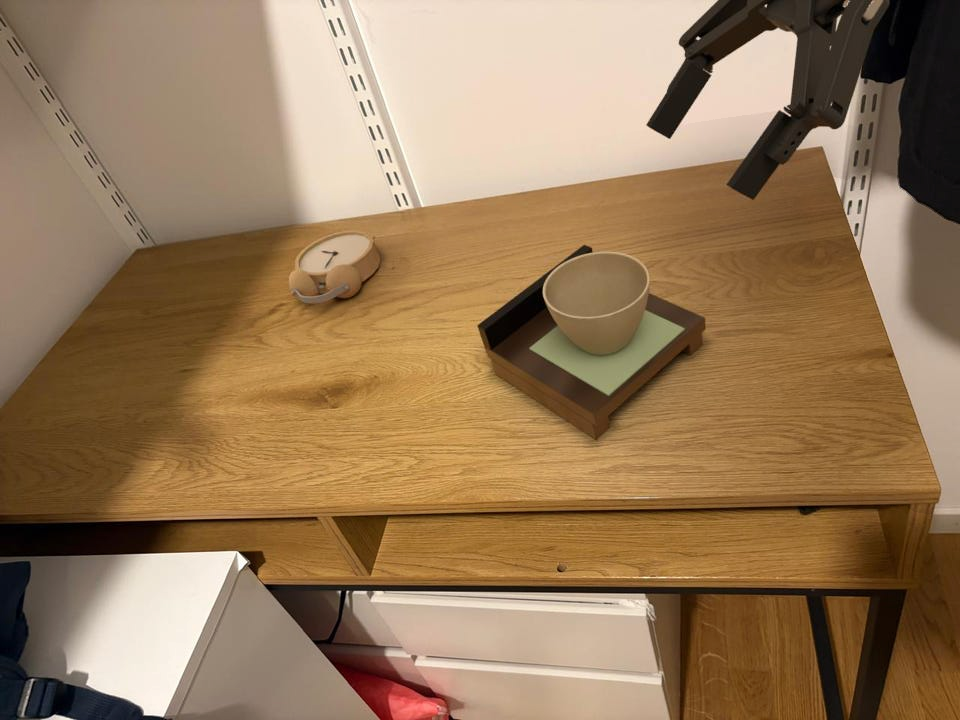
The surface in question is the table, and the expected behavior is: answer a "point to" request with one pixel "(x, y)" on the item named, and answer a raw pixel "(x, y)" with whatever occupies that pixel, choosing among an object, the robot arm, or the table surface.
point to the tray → (582, 355)
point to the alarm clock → (334, 266)
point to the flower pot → (598, 299)
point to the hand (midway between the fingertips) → (695, 160)
